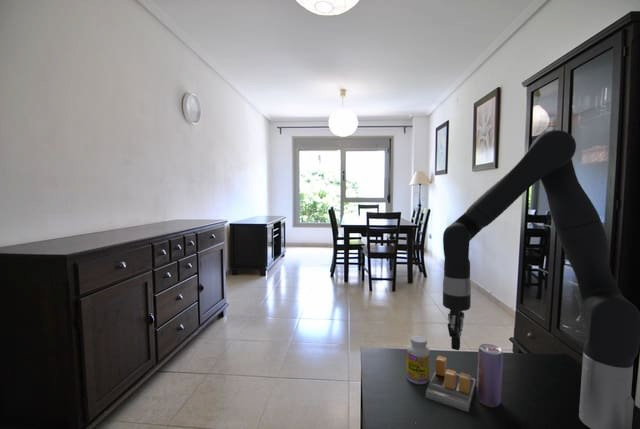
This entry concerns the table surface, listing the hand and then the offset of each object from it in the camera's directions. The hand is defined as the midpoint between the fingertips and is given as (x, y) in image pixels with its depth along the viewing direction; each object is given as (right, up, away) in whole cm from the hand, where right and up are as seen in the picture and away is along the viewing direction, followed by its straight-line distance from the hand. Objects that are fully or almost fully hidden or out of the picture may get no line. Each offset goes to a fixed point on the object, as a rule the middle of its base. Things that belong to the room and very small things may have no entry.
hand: (455, 348), depth 96 cm
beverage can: (+6, -12, -6) cm, 15 cm away
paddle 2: (-4, -9, -4) cm, 11 cm away
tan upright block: (0, -9, -6) cm, 11 cm away
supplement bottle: (-10, -11, +4) cm, 16 cm away
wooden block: (-3, -9, +3) cm, 10 cm away
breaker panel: (-2, -12, -2) cm, 12 cm away
